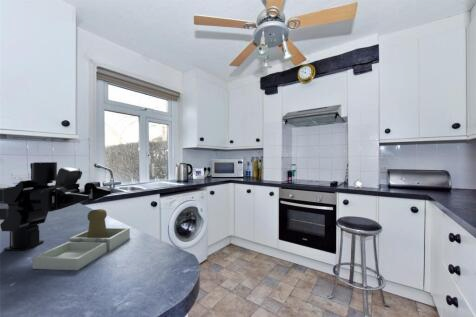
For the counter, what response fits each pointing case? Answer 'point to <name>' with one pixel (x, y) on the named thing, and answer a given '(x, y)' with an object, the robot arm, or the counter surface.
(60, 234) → the counter surface
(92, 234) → the cork
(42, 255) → the lid
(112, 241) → the case
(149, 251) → the counter surface
